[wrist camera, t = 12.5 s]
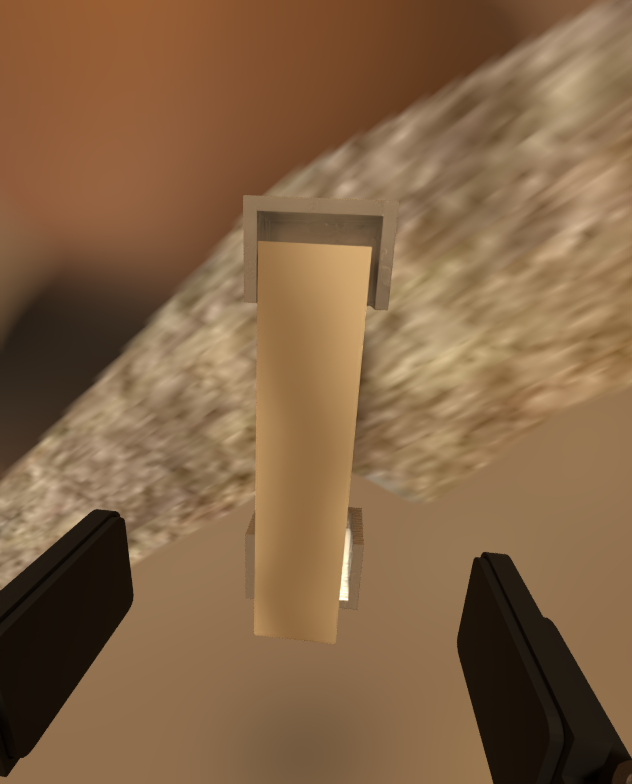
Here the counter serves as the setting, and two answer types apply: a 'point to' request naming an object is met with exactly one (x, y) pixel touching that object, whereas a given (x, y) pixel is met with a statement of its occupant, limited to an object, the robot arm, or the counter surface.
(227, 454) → the counter surface
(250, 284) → the bracket stand
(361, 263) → the rail
